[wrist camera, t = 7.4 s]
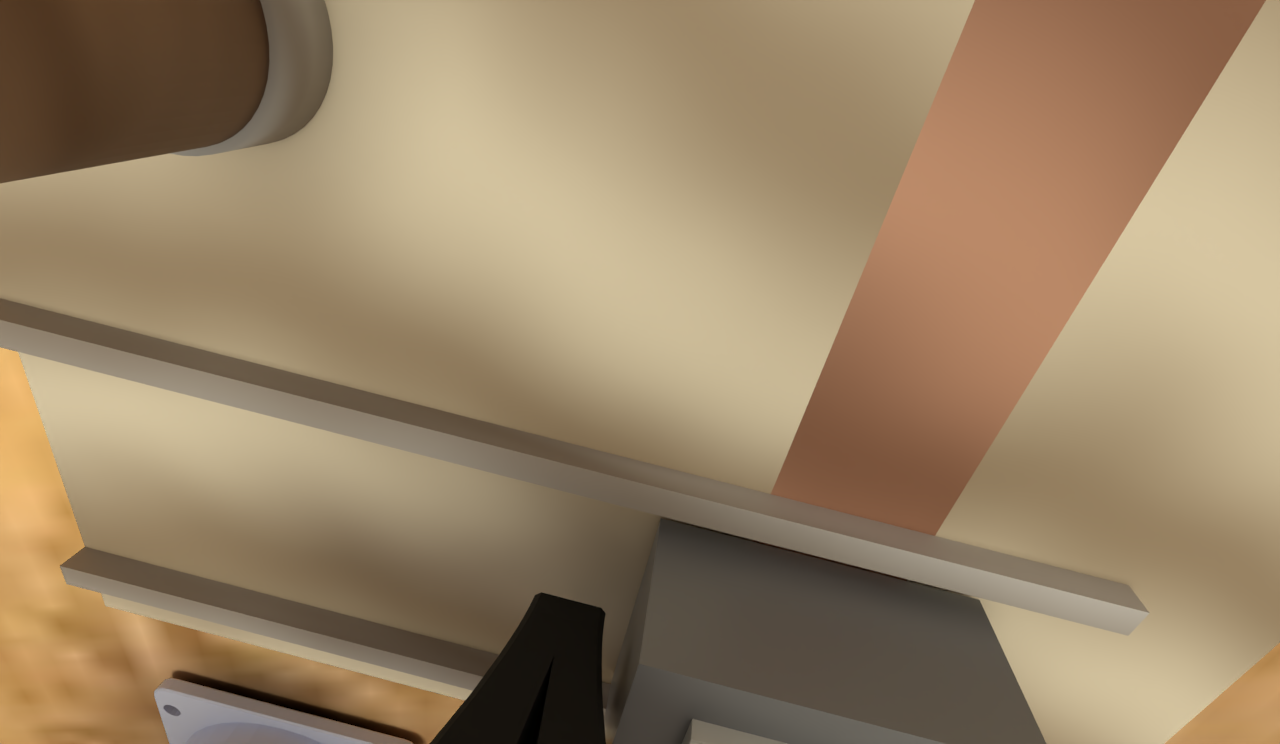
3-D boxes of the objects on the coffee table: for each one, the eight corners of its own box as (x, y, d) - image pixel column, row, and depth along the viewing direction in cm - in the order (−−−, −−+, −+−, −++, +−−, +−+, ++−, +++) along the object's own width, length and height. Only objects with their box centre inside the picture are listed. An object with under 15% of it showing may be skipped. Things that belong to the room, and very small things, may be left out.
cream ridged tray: (1022, 806, 15) (1052, 882, 14) (139, 575, 16) (82, 625, 14) (1838, 14, 7) (2133, 1, 5) (-158, -449, 7) (-375, -574, 6)
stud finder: (871, 749, 13) (915, 958, 10) (611, 681, 13) (575, 867, 10) (979, 599, 11) (1079, 814, 8) (660, 518, 11) (633, 697, 8)
